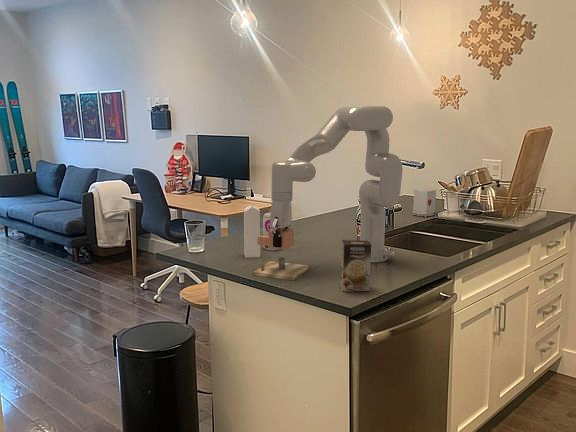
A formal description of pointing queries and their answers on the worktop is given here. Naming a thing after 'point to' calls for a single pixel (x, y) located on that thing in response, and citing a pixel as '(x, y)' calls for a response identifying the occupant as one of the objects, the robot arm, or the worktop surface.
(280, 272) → the post base
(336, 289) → the worktop surface
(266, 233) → the supplement can
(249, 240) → the milk
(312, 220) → the worktop surface
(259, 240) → the square nut with handle
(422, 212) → the supplement box
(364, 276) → the coffee box
